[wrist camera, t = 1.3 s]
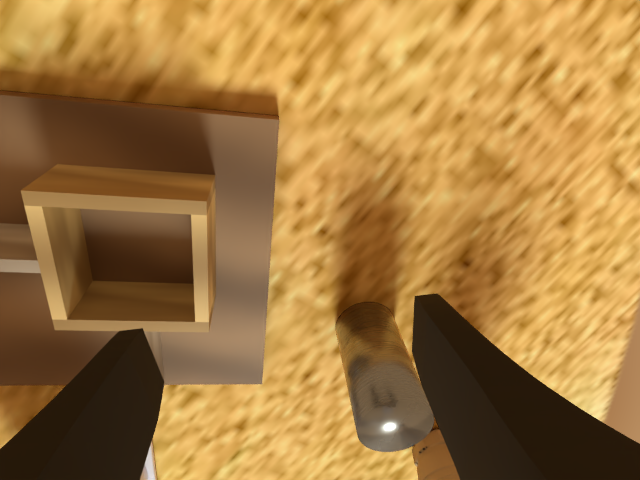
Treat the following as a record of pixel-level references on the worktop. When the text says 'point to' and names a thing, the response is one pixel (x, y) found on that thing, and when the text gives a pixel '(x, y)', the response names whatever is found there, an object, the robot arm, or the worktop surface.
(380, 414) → the hinge pin
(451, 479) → the handle
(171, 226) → the hinge block
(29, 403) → the worktop surface
